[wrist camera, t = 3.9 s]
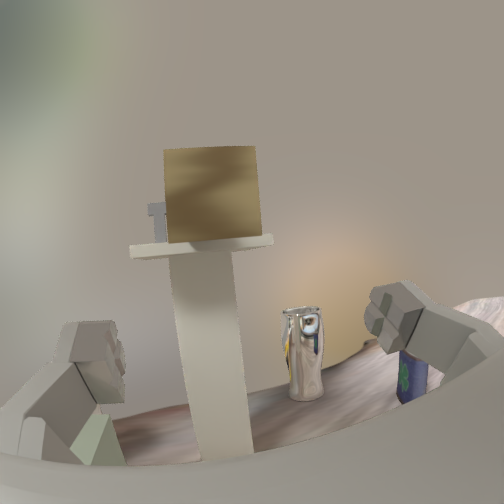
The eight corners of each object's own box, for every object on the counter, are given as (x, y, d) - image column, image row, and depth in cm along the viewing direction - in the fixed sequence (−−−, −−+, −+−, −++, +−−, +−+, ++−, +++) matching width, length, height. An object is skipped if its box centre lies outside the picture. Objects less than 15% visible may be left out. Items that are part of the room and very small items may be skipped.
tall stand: (181, 497, 23) (127, 199, 23) (177, 442, 34) (143, 220, 35) (291, 477, 26) (267, 189, 26) (262, 429, 37) (240, 212, 38)
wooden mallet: (168, 243, 15) (163, 149, 15) (172, 241, 28) (168, 188, 28) (262, 235, 17) (255, 146, 16) (224, 236, 29) (220, 184, 29)
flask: (426, 411, 33) (432, 342, 33) (408, 416, 33) (413, 346, 34) (408, 387, 42) (410, 327, 42) (392, 390, 42) (394, 329, 43)
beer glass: (292, 406, 44) (285, 316, 44) (281, 389, 50) (275, 309, 51) (332, 397, 45) (329, 310, 45) (318, 382, 51) (313, 304, 52)
